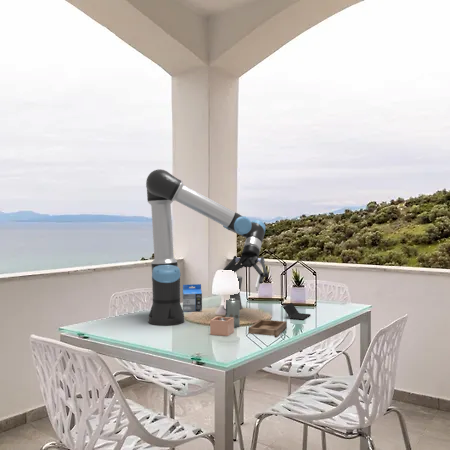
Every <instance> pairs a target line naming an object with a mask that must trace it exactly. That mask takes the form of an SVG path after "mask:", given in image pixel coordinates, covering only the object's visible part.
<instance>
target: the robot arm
mask: <svg viewBox="0 0 450 450" xmlns="http://www.w3.org/2000/svg"><path fill="white" fill-rule="evenodd" d="M145 182H146V184H145V185H146V186H145V187H146V196H147V203H148V204H149V205H150V207H151V221H152V239H153V253H154V254H153V255H154V259H152V261H151V263H150V264H151V282H152V305H151V308H150V311H149V315H148V323H149V324H151V325H156V326H174V325H181V324H183V323H184V322H185V314H184V313H185V312H183V306H182V305H181V269H180V267H178V266H179V265H178V260H177V259H176V258H175V256H174V255H175V254H174V244H173V243H174V239H173V238H174V237H173V224H172V220H173V219H172V209H171V208H172V207H171V205H172V203H173V202H174V201H176V202H178V203H180V204H181V205H183V206H184V207H187V208H189V209H190V210H193V211H194V212H196V213H198V214H201V215H202V216H204V217H207V218H208V219H210V220H211V221H214V222H216V223H218V224H220V225H222V226H223V228H224V229H226V230H228V231H230V232H232V233H235V234H237V235H239V236H242V237H244V238H245V240H244V241H245V242H244V245H243V247H242V252H241V256H240V257H237V255H234V256H233V257H232V259H231V260H230V262H229V263H228V264H227V265H226V266H225V267H224V268H223V269H222V270H232V271H234V273H236V272H237V271H239V270H240V269H242V268H252V267H253V269H254V270H255V271H256V273H257V274H258V275H257V278H256V282H255V287H254V288H255V290H256V292H258V291H259V289H260V285H261V284H262V283H263V282H264V278H269V272H268V270H267V267H266V265H265V257H264V256H260V253H261V249H262V245H263V244H262V243H263V241H264V237H265V235H266V229H267V228H266V224H265V223H264V222H263V221H262V220H257V219H254V220H252V221H251V220H250V219H249V217H246V216H243V215H241V214H240V213H238V212H236V211H234V210H232V209H230V208H228V207H226V206H225V205H223V204H221V203H219V202H217V201H215V200H213V199H212V198H210V197H207V196H205V195H204V194H202V193H200V192H198V191H197V190H194V189H192V188H191V187H189V186H187V185H185V184H184V182H183V180H181V179H179V178H178V177H175V176H174V175H173V174H171V173H170V172H169V171H167V170H165V169H159V168H157V169H154V170H153V171H151V172H150V173H149V174H148V175H147V178H146V181H145ZM259 256H260V258H259ZM258 263H260V264H261V267H262V270H263V271H262V270H261V268H260V267H259V266H258Z"/></svg>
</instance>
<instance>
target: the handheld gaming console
mask: <svg viewBox="0 0 450 450" xmlns="http://www.w3.org/2000/svg"><path fill="white" fill-rule="evenodd" d="M283 309H284V311H285V313H286V314H287V315H288V317H289V319H290V320H295V321H304V320H306V319H308V318H309V317H311V313H304V312H303V313H301V312H299V311H298V310H297V308H296V306H295V304H294V303H293V302H290V303H288V304H286V305H284V306H283Z"/></svg>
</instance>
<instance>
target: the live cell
mask: <svg viewBox="0 0 450 450" xmlns="http://www.w3.org/2000/svg"><path fill="white" fill-rule="evenodd" d="M240 311H241V309H240V300H236V299H235V298H230V299H229V300H226V309H225V317H231V318H234V329H237V328H239V327H240V317H241V315H240Z"/></svg>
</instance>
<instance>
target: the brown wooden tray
mask: <svg viewBox="0 0 450 450" xmlns="http://www.w3.org/2000/svg"><path fill="white" fill-rule="evenodd" d="M287 323H288V322H287V321H285V320H284V321H282V320H271V319H270V320H269V319H258V321H256V322H254V323H253V324H252V325H251V326H249V327H248V330H247V331H248V334H249V335H252V334H253V335H263V336H264V335H265V336H272V337H273V336H274V338H278V337H279V336H280V335H281V334H282V333H283V332H284V331H285V330H286V329H287V325H288V324H287Z"/></svg>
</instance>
